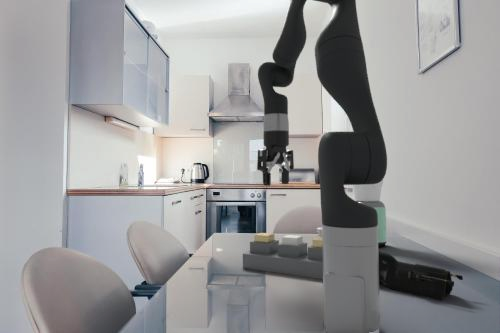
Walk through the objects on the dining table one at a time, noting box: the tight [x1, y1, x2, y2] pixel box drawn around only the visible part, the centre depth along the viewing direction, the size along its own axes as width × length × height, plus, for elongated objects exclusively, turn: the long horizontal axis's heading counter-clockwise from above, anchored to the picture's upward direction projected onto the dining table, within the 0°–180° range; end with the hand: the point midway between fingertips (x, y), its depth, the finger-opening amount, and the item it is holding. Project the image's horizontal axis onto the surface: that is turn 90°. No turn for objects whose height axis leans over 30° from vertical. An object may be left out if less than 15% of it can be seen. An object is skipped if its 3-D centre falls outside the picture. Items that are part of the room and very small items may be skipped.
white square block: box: [281, 234, 304, 246], centre depth 97 cm, size 4×4×3 cm
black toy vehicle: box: [378, 250, 464, 301], centre depth 79 cm, size 7×25×8 cm, turn 44°
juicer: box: [352, 179, 388, 247], centre depth 131 cm, size 19×13×35 cm
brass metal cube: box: [312, 236, 322, 248], centre depth 92 cm, size 4×4×3 cm
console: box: [242, 239, 323, 280], centre depth 97 cm, size 12×26×7 cm, turn 60°
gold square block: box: [253, 232, 275, 243], centre depth 101 cm, size 4×4×3 cm
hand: (276, 184), depth 101 cm, fingers open, 8 cm apart
